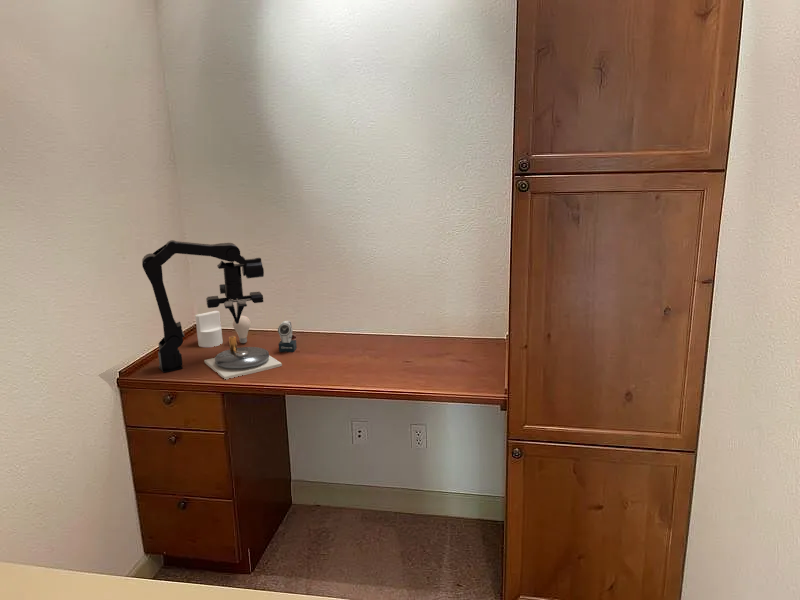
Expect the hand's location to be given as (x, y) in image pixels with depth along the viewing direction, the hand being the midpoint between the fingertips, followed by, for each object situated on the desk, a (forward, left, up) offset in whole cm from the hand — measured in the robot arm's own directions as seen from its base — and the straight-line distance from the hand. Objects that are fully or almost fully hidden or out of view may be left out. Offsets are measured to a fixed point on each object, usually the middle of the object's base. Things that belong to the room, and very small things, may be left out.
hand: (237, 323), depth 212 cm
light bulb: (+7, +15, -13) cm, 21 cm away
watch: (+17, -3, -13) cm, 22 cm away
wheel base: (-2, -7, -13) cm, 15 cm away
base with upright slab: (-3, +23, -13) cm, 27 cm away
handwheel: (-2, -7, -11) cm, 13 cm away
